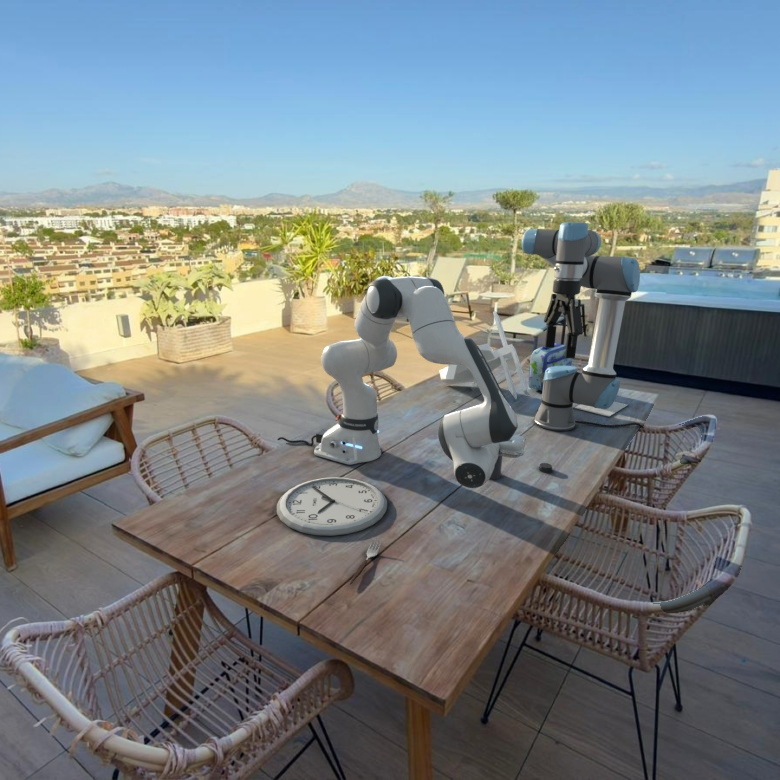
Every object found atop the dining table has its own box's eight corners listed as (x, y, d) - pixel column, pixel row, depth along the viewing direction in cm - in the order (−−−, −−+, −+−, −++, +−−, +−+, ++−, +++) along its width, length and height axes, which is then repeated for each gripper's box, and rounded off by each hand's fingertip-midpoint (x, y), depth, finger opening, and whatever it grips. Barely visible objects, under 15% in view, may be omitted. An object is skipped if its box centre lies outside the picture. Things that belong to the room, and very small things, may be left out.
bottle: (480, 471, 164) (485, 396, 157) (497, 470, 165) (503, 395, 157) (485, 479, 159) (491, 402, 151) (503, 478, 160) (509, 401, 152)
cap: (542, 473, 164) (542, 468, 163) (537, 467, 168) (537, 463, 167) (553, 472, 164) (554, 467, 164) (548, 467, 168) (549, 462, 168)
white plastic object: (461, 429, 252) (437, 405, 227) (444, 352, 274) (420, 323, 250) (535, 404, 240) (518, 377, 215) (510, 326, 262) (492, 293, 237)
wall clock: (392, 527, 129) (268, 531, 127) (391, 533, 130) (269, 537, 127) (383, 473, 158) (282, 475, 155) (383, 478, 158) (282, 480, 156)
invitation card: (608, 416, 214) (573, 407, 224) (608, 416, 214) (573, 408, 224) (628, 404, 229) (594, 396, 238) (628, 405, 229) (594, 397, 238)
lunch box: (544, 395, 239) (549, 351, 233) (524, 390, 247) (528, 347, 240) (571, 384, 257) (577, 343, 251) (552, 380, 264) (556, 339, 258)
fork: (344, 585, 111) (344, 577, 110) (372, 544, 125) (372, 537, 125) (355, 588, 110) (355, 580, 109) (382, 546, 124) (382, 539, 124)
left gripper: (524, 444, 130) (529, 425, 142) (443, 433, 136) (455, 416, 148) (522, 467, 131) (527, 447, 144) (442, 455, 138) (454, 436, 150)
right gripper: (537, 275, 159) (530, 343, 166) (575, 284, 136) (566, 363, 142) (560, 275, 160) (553, 343, 167) (602, 284, 137) (592, 362, 143)
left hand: (490, 431), depth 146 cm, fingers open, 8 cm apart
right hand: (559, 352), depth 155 cm, fingers open, 13 cm apart
